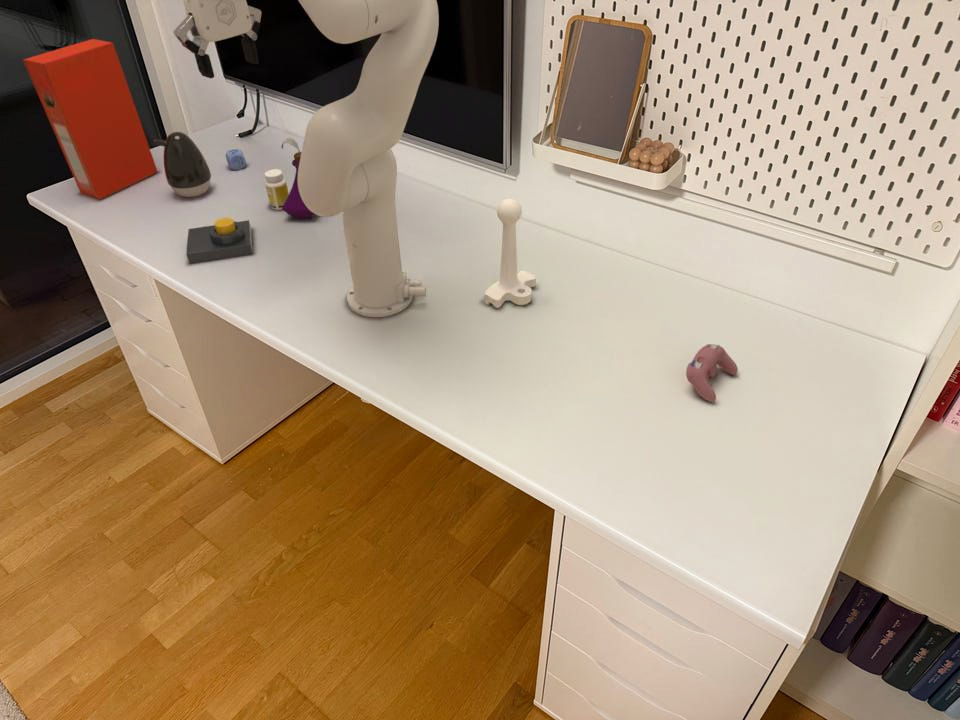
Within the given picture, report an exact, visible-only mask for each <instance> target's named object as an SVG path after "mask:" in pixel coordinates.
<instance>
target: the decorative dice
mask: <svg viewBox="0 0 960 720" xmlns="http://www.w3.org/2000/svg"><path fill="white" fill-rule="evenodd" d="M225 159H226V162H227V165H228V168H229V169H230V170H235V171H238V170H242V169H245V167H246V166H247V162H246V158H245V155H244V152H243V151H242V150H241V149H239V148H234V149H233V148H232V149H230V150H228V151H226V153H225Z"/></svg>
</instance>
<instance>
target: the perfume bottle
mask: <svg viewBox="0 0 960 720" xmlns="http://www.w3.org/2000/svg"><path fill="white" fill-rule="evenodd" d="M284 144H288V145H291V146H292V147H294V148H295V149H297V150H298V152H296V153H294V155H293V160H292V162H291V165H292V166H293V167H295V175H294V179H293V183H292V186H291V189H290V191H289V192H288V193H289V195H288V197H287V199H286V201H285V203H284V205H283V207H282V210H283V211H284V212H285V213H286V214H288V215H289V216H290V217H292V218H293V219H300V220H301V219H302V220H304V219H305V220H311V219H312V218H313V217H314V216H315V213H313V212H311V211H310V210H309V209H308V208H307V207H306V205H305V204H304V202H303V201H302V198H301V196H300V193H299V189H298V180H297V179H298V168H299V163H300V158H301V153H302V151H301V150H300V148H299V145H298V142H297V141H296V140H295V139H294V138H292V137H287V138H286V139H284V140H283V141H282V143H281V147H280V148H281V149H282V150H284ZM282 210H281V211H282Z"/></svg>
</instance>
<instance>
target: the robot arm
mask: <svg viewBox="0 0 960 720" xmlns="http://www.w3.org/2000/svg"><path fill="white" fill-rule="evenodd" d="M297 1H298V3H299V4H300V5H301V7H302V8H303V10H304V11H305V13H306V14H307V15H308V17H309V18H310V20H311V22H312V23H313V24H314V26H315V27H316V28H317V29H318V30H319V32H320V33H321V34H322V35H323V36H324V37H326V38H327V39H328V40H330V41H332V42H333V43H336V44H342V45H348V44H353V43H356V42H359V41H362V40H363V41H364V40H366V39H368V38H371V37H375V36H377V35H380V36H379V38H378V39H377V40H376V42H375V43H374V45H373V47H372V48H371V50H370V51H369V52H368V54H367V56H366V58H365V60H364V63H363V66H362V69H361V74H360V77H359V81H358V84H357V86H356V88H355V90H354V91H353V92H352V93H350V94H349V95H347V96H345V97H343V98H341V99H338V100H335V101H333V102H331V103H328V104H326V105H323V106H322V107H320V108H319V109H318V110H316V112H314V114H312V116H311V117H310V119H309V120H308V123H307V126H306V130H305V133H304V139H303V143H302V144H303V145H302V148H301V152H302V153H301V158H300V163H299V168H298V179H297V180H298V189H299V193H300V196H301V198H302V201H303V202H304V204H305V205H306V207H307V208H308V209H309V210H310V211H311V212H313V213H314V215H316V216H319V217H325V218H327V217H329V218H330V217H334V216H337V215H339V214H342V225H343V232H344V238H345V244H346V250H347V256H348V263H349V268H350V276H351V281H352V286H351V288H350V289H349V290H348V292H347V295H346V300H347V305H348V307H349V309H351V311H353V312H354V313H356V314H358V315H360V316H363V317H368V318H383V317H384V318H385V317H388V316H393V315H396V314H397V313H398V314H399V313H400V312H401V311H403V310H405V309H406V308H407V307H409V305H410V304H411V302H412V300H413V297H426V296H427V286H425V285H424V286H423V285H422V284H423V283H422V279H421V280H419V279H418V280H417V279H415V280H410V279H409V278H408V276H407V271H403V267H402V258H401V248H400V240H399V239H400V237H399V231H398V220H397V209H396V190H397V182H398V164H397V160H396V156H395V154H394V152H393V150H392V148H393V147H395V146H396V145H397V144H398V143H399V141H400V140H401V138H402V137H403V134H404V130H405V129H406V125H407V122H408V120H409V117H410V114H411V111H412V108H413V105H414V102H415V100H416V97H417V93H418V90H419V87H420V84H421V81H422V79H423V76H424V74H425V72H426V69H427V68H428V65H429V63H430V61H431V57H432V56H433V53H434V50H435V47H436V43H437V40H438V39H437V38H438V35H439V34H438V33H439V25H440V23H439V21H440V20H439V18H440V17H439V16H440V15H439V5H438V1H437V0H297ZM183 6H184V10H185V11H184V12H185V16H186V17H184V19H183V20H182V21H181V22H180V24H178V25H177V26H176V27H175V29H174V30H173V35H174V36H175V37H176V39H177V40H178V41H179V42H180V43H181V45H182V46H183V48H185V49H186V50H188V51H190V53H192V54H194V58H195V61H196V65H197V69H198V71H199V74H200V75H201V76H202V77H204V78H208V79H214V78H215V71H214V68H213V64H212V60H211V58H210V55H209V54H207V49H208V46H209V43H215V42H218V41H222V40H227V39H230V38H233V37H238V36H242V37H241V38H240V42H241V47H242V51H243V57H244V59H245V62H247V63H250V64H254V65H258V64H259V63H260V61H259V53H258V49H257V44H256V40H257V39H258V32H259V31H260V28H261V18H262V10H260V9H259V8H256V7H254V6H251V5H248V2H247V0H183ZM189 31H190V34H191V35H192V40H191V39H190V38H189V36H188V33H189Z"/></svg>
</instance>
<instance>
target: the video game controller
mask: <svg viewBox="0 0 960 720" xmlns="http://www.w3.org/2000/svg"><path fill="white" fill-rule="evenodd" d="M717 366H718V367H719V368H721V369H722V370H723V371H724V372H726V373H727V374H730V375H732V376H735V375H736V374H737V373H738V371H739V370H738V369H739V368H738V366H737V364H736V362H735V361H734V360H733V359H732V357H731V356H730V355H729V353H727V351H726V350H725V348H724V347H723V346H720V344H715V343H708V344H705V345H704V346H702V347H700V349H699V350H698V351H697V353H696V354H695V355H694V356H693V359H692V361H691V362H689V363H688V364H687V366H686V371H685V372H686V373H685V374H686V375H685V376H686V379H687V381H688V383H690V384H691V385H692V387H693V388H694V390H695V392H696V393H698V395H699V396H700V397H701V398H703V399H704V400H705V401H706V402H711V403H712V402H714V401H716V399H717V395H716V392H715V390H714V389H713V387H712V386H711V385H710V383H709V377H715V376H716V375H717V371H718V367H717Z"/></svg>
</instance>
